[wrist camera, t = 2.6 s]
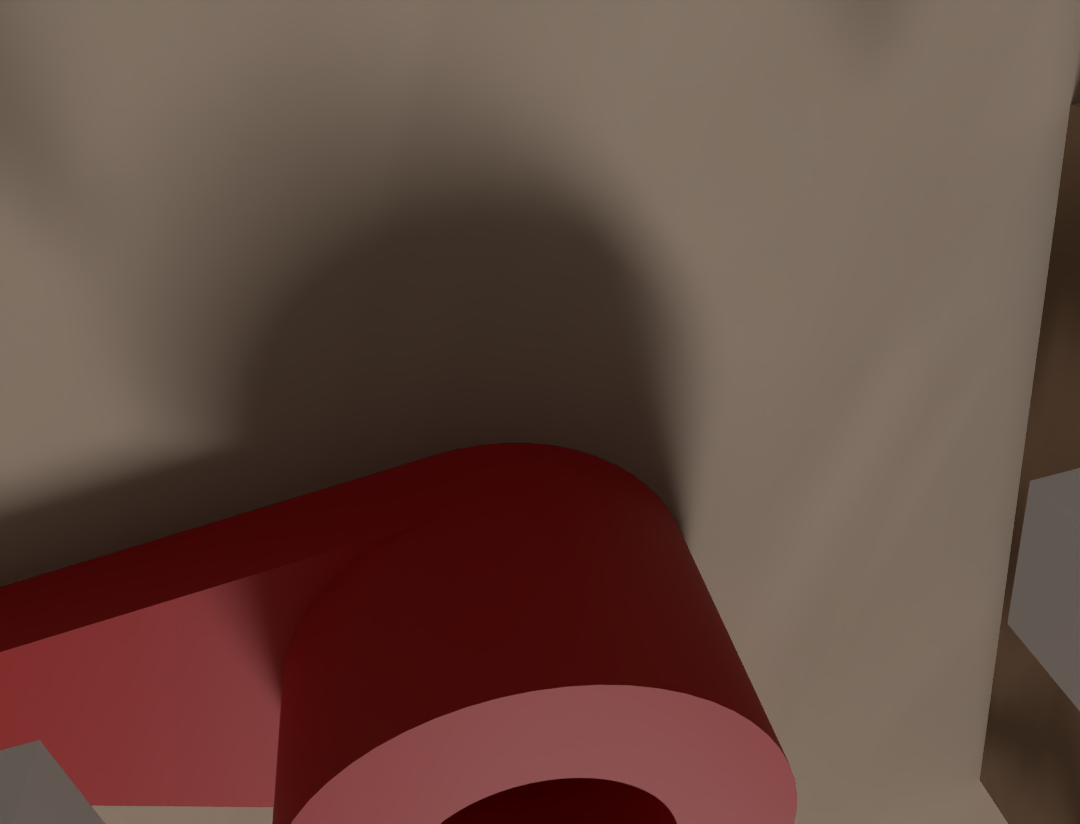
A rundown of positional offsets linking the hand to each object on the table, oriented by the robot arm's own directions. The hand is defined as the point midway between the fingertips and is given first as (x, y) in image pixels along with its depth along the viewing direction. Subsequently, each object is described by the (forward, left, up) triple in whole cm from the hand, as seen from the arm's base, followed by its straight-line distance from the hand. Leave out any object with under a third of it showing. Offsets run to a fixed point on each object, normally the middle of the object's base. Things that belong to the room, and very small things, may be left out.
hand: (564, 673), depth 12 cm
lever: (+5, -5, -8) cm, 11 cm away
